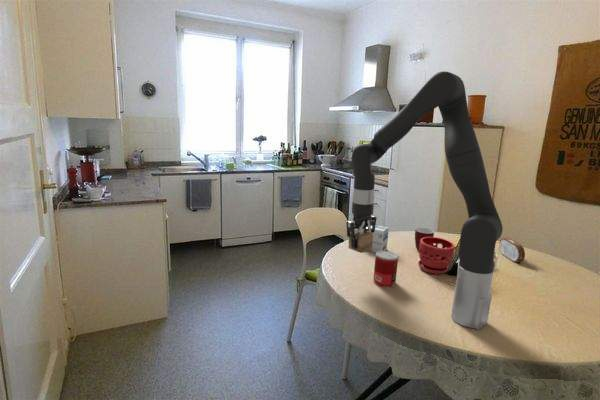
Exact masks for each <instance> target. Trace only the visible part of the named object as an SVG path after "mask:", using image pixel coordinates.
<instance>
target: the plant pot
mask: <svg viewBox="0 0 600 400" xmlns="http://www.w3.org/2000/svg"><path fill="white" fill-rule="evenodd" d="M428 243H431V244H430V245H428ZM439 244H440V245H441V247H439V246H438V245H439ZM455 248H456V245H455V244H454V243H453V242H452V241H450V240H448V239H445V238H440V237H435V236H434V237H423V238H422V239H421V240H420V245H419V253H418V254H419V255H418V256H419V260H418V261H417V263H418V266H419V268H420V269H421V270H422V271H424V272H426V273H430V274H435V275H442V274H446V273H447V272H448V271H449V269H447V268H446V267H447V266H448V267H449V265H450V264H451V262H452V260H453V257H454V253H455Z"/></svg>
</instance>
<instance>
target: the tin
mask: <svg viewBox="0 0 600 400" xmlns="http://www.w3.org/2000/svg"><path fill="white" fill-rule="evenodd" d="M498 245H499V246H498V249H499V252H500V254H501V255H502V256H504V257H505V258H506V259H508V260H510V261H511V262H513V263H522V262H524V260H525V257H526V251H525V247H524V246H523V244H521V243H519V242H518V241H516V240H514V239H512V237H503V238H500V239H499V244H498Z"/></svg>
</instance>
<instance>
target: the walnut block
mask: <svg viewBox="0 0 600 400" xmlns="http://www.w3.org/2000/svg"><path fill="white" fill-rule="evenodd" d="M350 234H351V232H350ZM354 235H356V232H355V234H354ZM357 239H358V244H357V249H354V248H352V247H351V238H350V237H348V249H350V250H352V251H355V252H357V253H360V254H361V253H362V254H363V253H365V252H369V250H371V249H372V242H373V233H370V232H367V231H364V230H362V231H361V233H360V234H359V235H358V238H357Z"/></svg>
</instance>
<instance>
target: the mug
mask: <svg viewBox="0 0 600 400" xmlns="http://www.w3.org/2000/svg"><path fill="white" fill-rule="evenodd" d="M434 233H435V232H434V230H432V229H429V228H424V227H417V228H415V231H414V243H415V248H416V250H417V252H419V245H420V240H421V239H422V238H423V237H435V236H434V235H435V234H434ZM430 244H431V243H428V245H430Z"/></svg>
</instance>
